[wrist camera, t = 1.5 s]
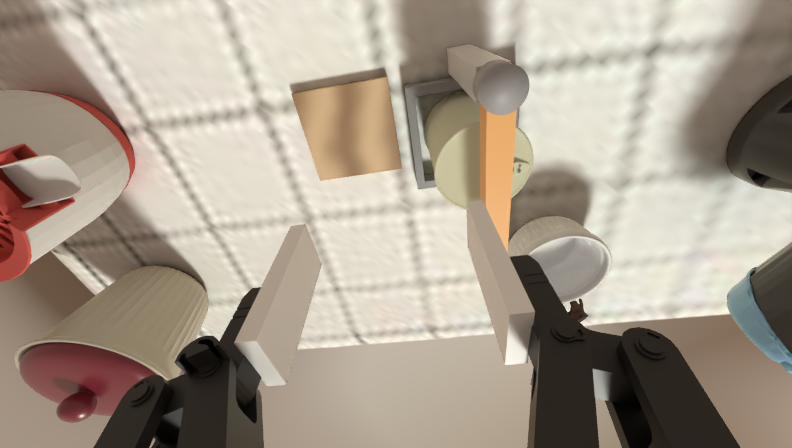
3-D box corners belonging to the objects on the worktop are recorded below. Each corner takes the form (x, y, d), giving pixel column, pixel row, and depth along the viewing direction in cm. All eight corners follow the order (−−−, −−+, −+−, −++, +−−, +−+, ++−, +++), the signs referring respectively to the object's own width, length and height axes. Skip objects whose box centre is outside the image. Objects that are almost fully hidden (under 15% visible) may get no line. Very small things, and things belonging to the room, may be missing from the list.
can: (494, 162, 40) (527, 210, 30) (424, 167, 41) (434, 217, 31) (503, 87, 35) (545, 116, 25) (422, 94, 35) (433, 125, 25)
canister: (192, 241, 47) (75, 372, 30) (244, 315, 58) (180, 445, 40) (89, 256, 49) (-77, 389, 32) (158, 326, 59) (60, 455, 42)
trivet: (387, 76, 34) (387, 77, 34) (401, 166, 40) (401, 168, 40) (293, 92, 35) (291, 94, 34) (321, 177, 41) (320, 180, 41)
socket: (517, 35, 32) (588, 47, 20) (509, 169, 41) (556, 231, 29) (400, 56, 33) (403, 79, 21) (417, 182, 42) (425, 248, 30)
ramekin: (497, 216, 45) (512, 246, 39) (591, 199, 43) (621, 227, 38) (501, 279, 52) (513, 311, 47) (581, 266, 51) (604, 298, 45)
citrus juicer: (190, 186, 42) (58, 297, 26) (77, 203, 43) (-117, 318, 27) (113, 60, 33) (-164, 105, 17) (-26, 86, 35) (-404, 152, 18)
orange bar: (517, 55, 20) (531, 60, 18) (505, 246, 30) (514, 263, 28) (472, 63, 21) (480, 69, 18) (474, 249, 30) (480, 267, 28)
